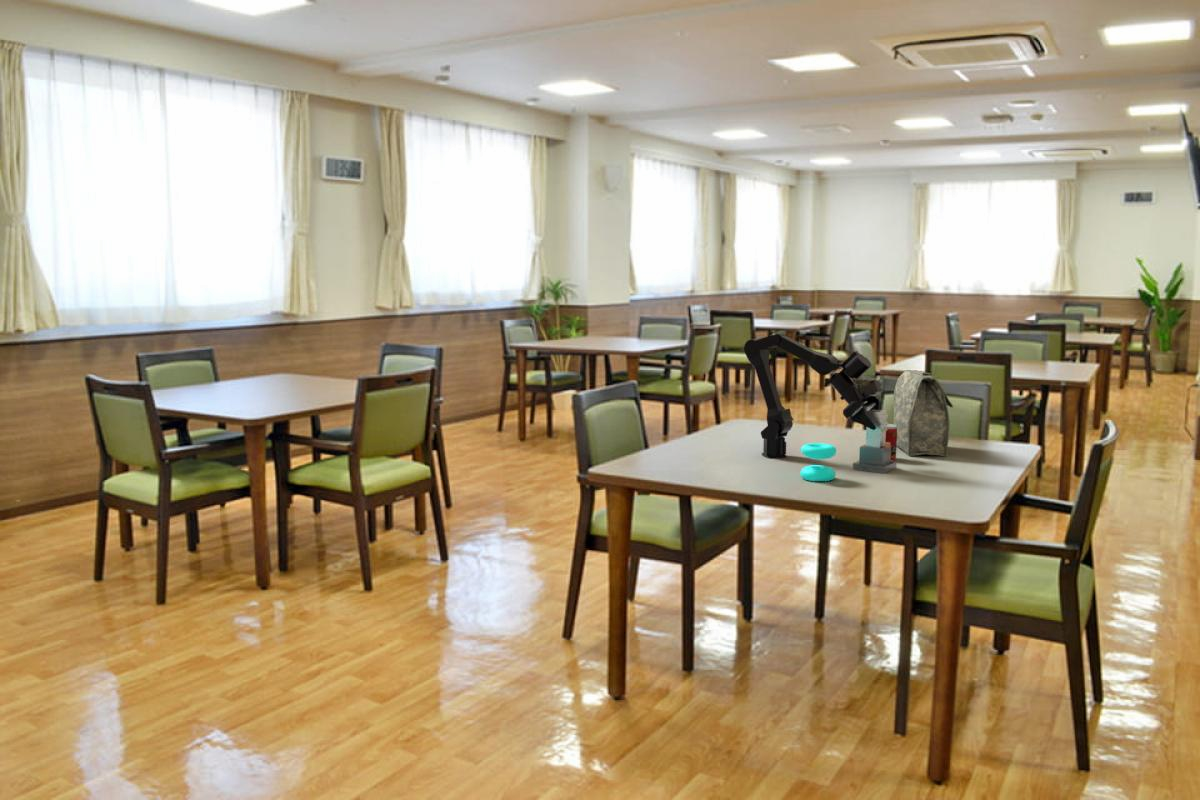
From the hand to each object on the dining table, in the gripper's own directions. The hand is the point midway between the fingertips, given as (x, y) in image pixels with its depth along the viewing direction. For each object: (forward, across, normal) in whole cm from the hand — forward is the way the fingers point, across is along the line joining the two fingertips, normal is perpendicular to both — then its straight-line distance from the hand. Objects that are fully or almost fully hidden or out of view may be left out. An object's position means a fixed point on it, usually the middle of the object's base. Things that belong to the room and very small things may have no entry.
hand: (880, 427), depth 295 cm
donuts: (+2, -24, +16) cm, 29 cm away
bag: (+10, +38, +9) cm, 41 cm away
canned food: (+6, +17, +13) cm, 22 cm away
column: (+4, 0, +6) cm, 7 cm away
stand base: (+8, 0, +10) cm, 13 cm away
